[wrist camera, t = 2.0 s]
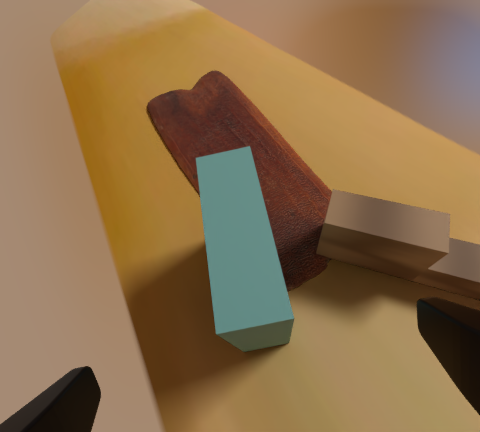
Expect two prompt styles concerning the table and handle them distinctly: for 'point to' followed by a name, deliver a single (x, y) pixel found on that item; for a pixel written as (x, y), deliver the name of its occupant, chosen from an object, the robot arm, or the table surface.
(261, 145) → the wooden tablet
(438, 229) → the walnut notched bar
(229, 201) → the teal flat block
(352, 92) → the table surface
